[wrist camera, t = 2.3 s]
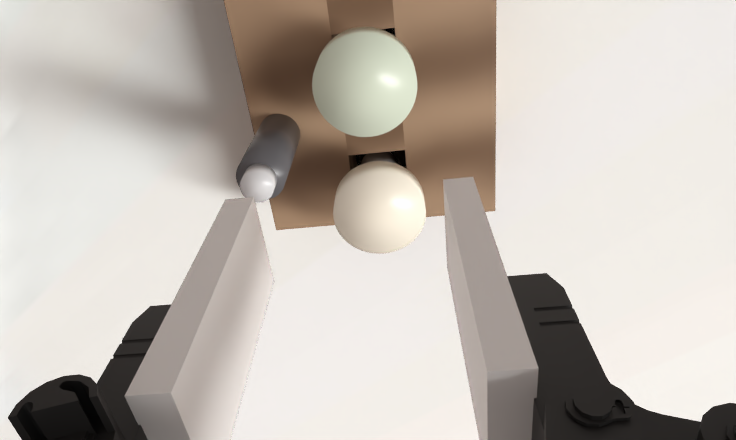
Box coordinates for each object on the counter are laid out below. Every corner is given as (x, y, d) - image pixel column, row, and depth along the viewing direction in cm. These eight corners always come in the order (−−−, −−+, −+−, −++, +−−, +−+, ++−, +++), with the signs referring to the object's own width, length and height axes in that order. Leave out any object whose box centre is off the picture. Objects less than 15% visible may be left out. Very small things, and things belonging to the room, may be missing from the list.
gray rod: (255, 115, 32) (226, 166, 25) (296, 111, 31) (276, 162, 25) (263, 154, 33) (237, 211, 27) (303, 150, 33) (286, 207, 26)
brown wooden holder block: (219, -132, 30) (192, -137, 25) (479, -167, 29) (497, -179, 24) (287, 194, 40) (276, 230, 35) (482, 176, 39) (494, 210, 34)
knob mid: (317, 15, 30) (303, 39, 25) (407, 4, 30) (413, 27, 25) (330, 102, 33) (320, 141, 27) (413, 93, 32) (420, 131, 27)
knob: (335, 133, 34) (326, 177, 28) (415, 125, 33) (422, 168, 28) (345, 204, 36) (340, 256, 31) (421, 197, 36) (428, 249, 31)
